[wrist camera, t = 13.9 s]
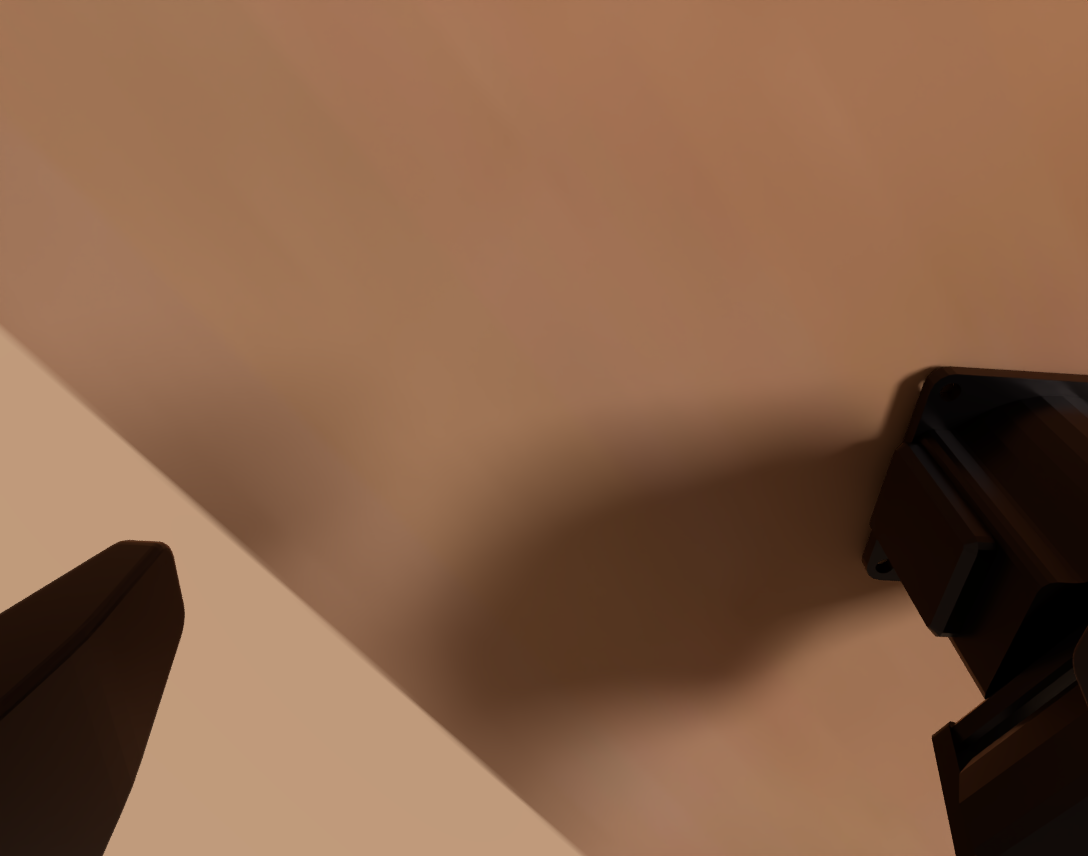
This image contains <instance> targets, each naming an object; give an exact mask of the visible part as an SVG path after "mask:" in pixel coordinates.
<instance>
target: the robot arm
mask: <svg viewBox="0 0 1088 856" xmlns="http://www.w3.org/2000/svg"><path fill="white" fill-rule="evenodd" d="M951 383H954V386H953V387H952V389H951V390H950V391H948V392H946V393H943V394H940V391H941V390H942V388H943V387H944V386H946V385H947V384H951ZM870 528H871V529H872V530H871V533H870V536H869V539H868V542H867V544H866V547H865V550H864V553H863V556H862V563H863V565H864V567H865V569H866V571H867V573H868V574H869V576H871V577H872V578H873V579H878V580H890V581H901V582H902V584H903V586H904V587H905V589H906V591H907V593H908V594H909V596H910V598H911V600H912V601H913V603H914V605H915V607H916V608H917V610H918V612H919V614H920V615H921V617H922V619H923V621H924V622H925V624H926V626H927V627H928V628H929V630H930V631H931V632H932V633H933V634H934V635H935V636H937V637H948V638H949V639H950V641H951V643H952V644H953V646H954V648H955V649H956V651H957V653H958V655H959V656H960V658H961V660H962V661H963V663H964V665H965V666H966V668H967V670H968V671H969V673H970V675H971V677H972V678H973V680H974V682H975V683H976V685H977V687H978V688H979V690H980V692H981V693H982V695H983V697H984V698H985V700H984V701H983V702H982V703H981V704H979V705H978V706H977V707H975V708H974V709H973V710H972V711H970V712H969V713H968V714H967V715H965V716H964V717H963V718H961V719H960V720H959V721H958V722H956V723H954V722H951V721H950V722H949V723H947V724H946V725H945V726H944V727H942V728H941V729H940V730H939V731H937V732H936V733H935V734H934V735H932V742H933V747H934V752H935V757H936V761H937V766H938V771H939V776H940V781H941V786H942V791H943V796H944V800H945V805H946V810H947V815H948V820H949V825H950V830H951V834H952V839H953V844H954V849H955V854H956V856H1088V375H1074V374H1058V373H1043V372H1027V371H1011V370H995V369H980V368H964V367H942V368H940V369H938V370H935V371H934V372H932V373H931V374H930V375H929V376H928V377H927V379H926V380H925V382H924V384H923V387H922V390H921V392H920V395H919V398H918V401H917V404H916V406H915V409H914V412H913V415H912V418H911V421H910V423H909V426H908V429H907V432H906V435H905V437H904V440H903V443H902V444H901V445H900V446H899V447H898V448H897V449H896V450H895V452H894V454H893V457H892V460H891V463H890V466H889V469H888V471H887V474H886V477H885V480H884V483H883V486H882V488H881V491H880V494H879V497H878V500H877V503H876V506H875V508H874V511H873V514H872V517H871V520H870ZM885 559H887V561H885V562H883V563H881V564H878V562H880V561H882V560H885ZM184 618H185V612H184V603H183V599H182V594H181V589H180V585H179V580H178V575H177V570H176V565H175V561H174V556H173V553H172V551H171V549H170V547H169V546H168V545H166V544H164V543H163V542H155V541H135V540H126V541H120V542H118V543H116V544H114V545H112V546H110V547H109V548H107V549H106V550H104V551H102V552H100V553H99V554H97V555H95V556H94V557H92V558H91V559H89V560H87V561H86V562H84V563H82V564H81V565H79V566H77V567H76V568H74V569H73V570H71V571H69V572H68V573H66V574H64V575H63V576H61V577H60V578H58V579H56V580H54V581H53V582H51V583H50V584H48V585H46V586H45V587H43V588H42V589H40V590H38V591H37V592H35V593H33V594H32V595H30V596H29V597H27V598H25V599H23V600H22V601H20V602H18V603H17V604H15V605H14V606H12V607H10V608H9V609H7V610H5V611H4V612H2V613H1V614H0V856H103V854H104V851H105V849H106V847H107V844H108V842H109V840H110V838H111V836H112V833H113V831H114V829H115V827H116V824H117V822H118V820H119V818H120V815H121V813H122V810H123V808H124V806H125V803H126V801H127V798H128V796H129V794H130V791H131V789H132V787H133V784H134V781H135V778H136V775H137V772H138V769H139V766H140V764H141V761H142V758H143V754H144V751H145V748H146V745H147V742H148V739H149V736H150V732H151V729H152V726H153V723H154V720H155V717H156V714H157V710H158V707H159V704H160V701H161V698H162V695H163V692H164V688H165V685H166V682H167V679H168V675H169V673H170V670H171V666H172V663H173V660H174V657H175V654H176V651H177V647H178V644H179V641H180V638H181V635H182V631H183V626H184Z"/></svg>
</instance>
